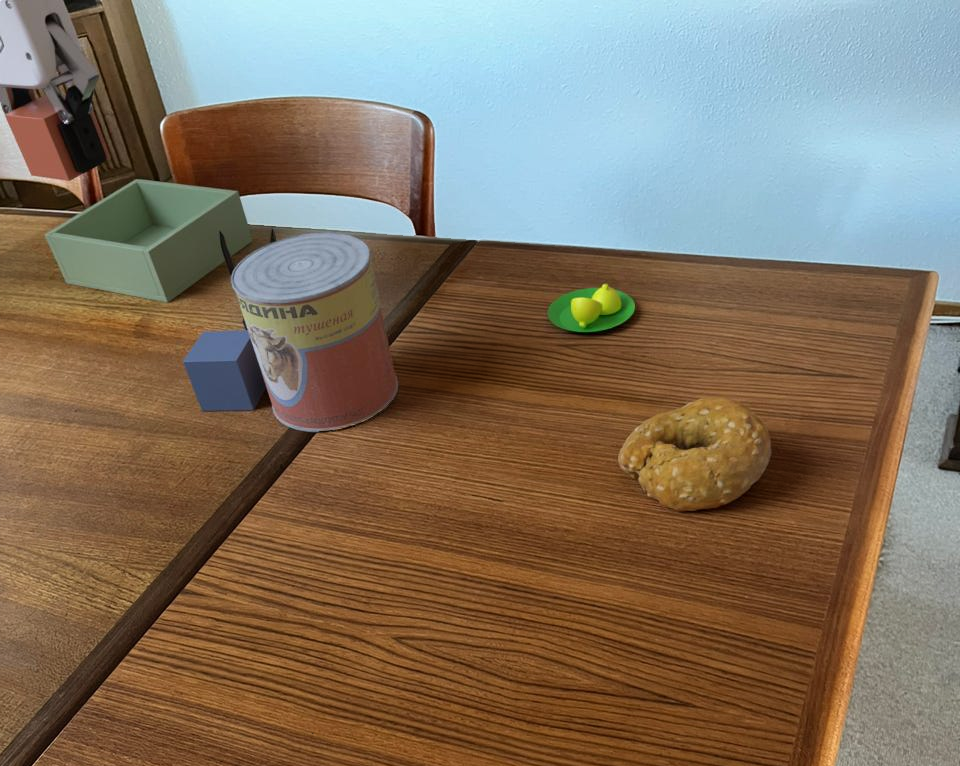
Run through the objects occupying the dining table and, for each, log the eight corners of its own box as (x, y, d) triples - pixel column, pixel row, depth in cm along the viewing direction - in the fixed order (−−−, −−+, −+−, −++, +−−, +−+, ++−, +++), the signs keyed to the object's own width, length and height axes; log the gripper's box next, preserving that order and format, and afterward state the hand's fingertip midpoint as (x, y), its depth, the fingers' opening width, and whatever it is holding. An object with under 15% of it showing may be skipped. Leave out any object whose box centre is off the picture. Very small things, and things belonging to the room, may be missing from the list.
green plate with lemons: (621, 341, 86) (620, 312, 84) (536, 334, 88) (533, 305, 86) (645, 297, 90) (645, 268, 88) (563, 291, 93) (561, 263, 91)
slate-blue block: (201, 411, 86) (182, 361, 83) (220, 380, 90) (202, 331, 86) (253, 410, 85) (236, 360, 82) (271, 379, 89) (255, 329, 85)
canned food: (246, 411, 85) (201, 282, 77) (332, 349, 91) (299, 223, 82) (338, 446, 80) (301, 312, 71) (423, 378, 86) (399, 246, 77)
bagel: (649, 422, 77) (650, 369, 73) (786, 452, 72) (794, 397, 69) (595, 496, 71) (592, 443, 68) (739, 533, 67) (745, 478, 63)
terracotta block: (31, 175, 85) (3, 114, 81) (72, 153, 88) (48, 93, 84) (69, 181, 83) (43, 118, 79) (111, 158, 85) (87, 96, 82)
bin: (66, 283, 108) (43, 234, 104) (153, 226, 116) (136, 178, 112) (167, 302, 102) (148, 251, 98) (253, 240, 110) (238, 190, 106)
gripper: (-145, -75, 73) (-26, 172, 86) (1, -78, 66) (107, 192, 79) (-65, -100, 77) (37, 139, 91) (80, -106, 70) (169, 155, 83)
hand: (69, 161), depth 85 cm, fingers closed on terracotta block, 5 cm apart
